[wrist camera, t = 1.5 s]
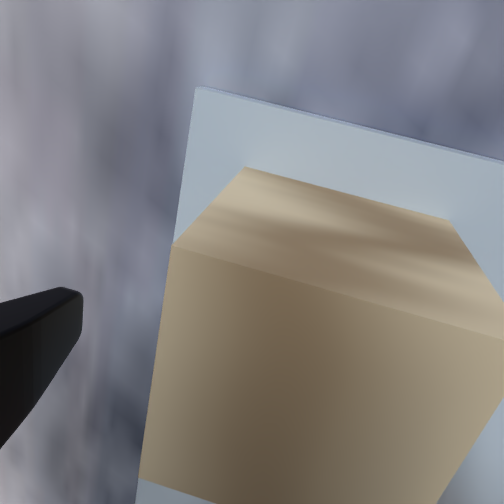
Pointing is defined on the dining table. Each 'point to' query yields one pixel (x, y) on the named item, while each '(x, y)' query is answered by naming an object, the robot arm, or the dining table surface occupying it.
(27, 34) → the dining table surface
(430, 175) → the build board
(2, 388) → the robot arm
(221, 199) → the maple block
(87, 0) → the dining table surface
